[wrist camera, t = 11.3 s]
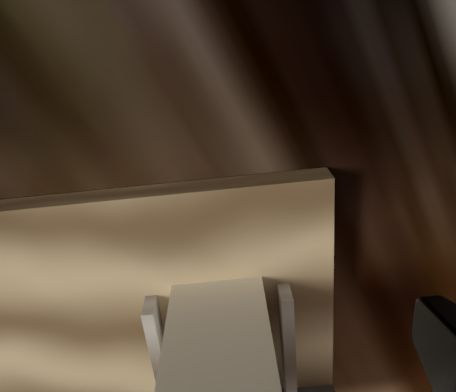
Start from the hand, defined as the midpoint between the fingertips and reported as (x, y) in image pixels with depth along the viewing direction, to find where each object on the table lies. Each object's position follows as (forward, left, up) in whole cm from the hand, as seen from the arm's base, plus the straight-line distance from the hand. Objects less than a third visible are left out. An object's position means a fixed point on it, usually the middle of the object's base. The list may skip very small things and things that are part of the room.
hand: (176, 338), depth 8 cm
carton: (+10, 0, -12) cm, 16 cm away
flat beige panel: (+9, -5, -13) cm, 17 cm away
